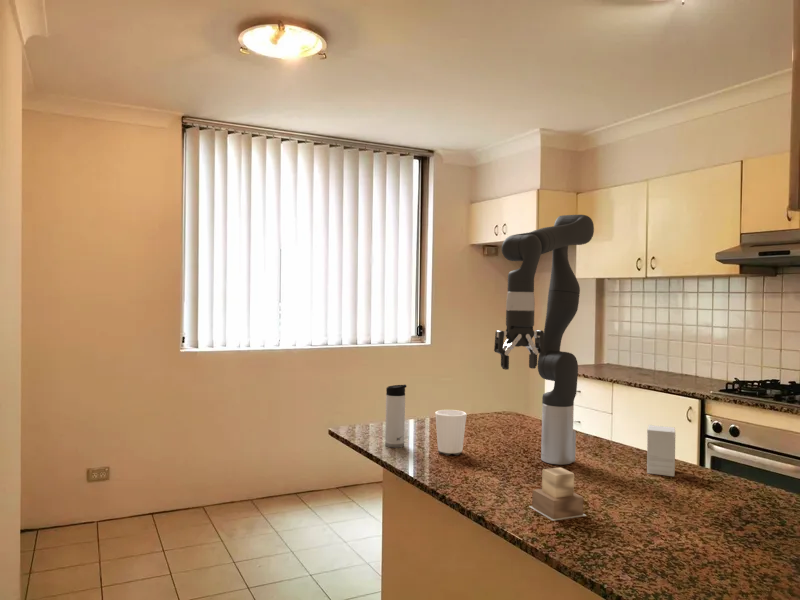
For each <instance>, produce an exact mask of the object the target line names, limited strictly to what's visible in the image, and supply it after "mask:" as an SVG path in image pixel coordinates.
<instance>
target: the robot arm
mask: <svg viewBox="0 0 800 600" xmlns="http://www.w3.org/2000/svg"><path fill="white" fill-rule="evenodd" d="M594 232H595V225H594V221H593V219H592V218H591V217H590V216H589V215H585V214H567V215H565V214H564V215H563V214H562V215H559V216H558V217H557V218H556V219H555V221H554V224H553V226H546V227H542V228H538V229H536V230H533V231H530V232H523V233H522V232H521V233H516V234H512V235H509V236H507V237H506V238H504V240H503V242H502V245H501V253H502V255H503V257H504V258H505V259H506V260H508V261H510V262H522V263H521V264H520V265H521V266H519V268H517V269H514V270H511V271H509V272H508V275H507V293H506V301H505V302H506V303H505V325H506V329H505V331H504V330H499V329H498V330H495V335H494V336H495V337H494V347H493V348H494V349H493V351H494V353H496V354H499V355H500V367H501V368H502V369H503V370H509V368H510V356H509V354H510V352H511V351H512V350H513V349H514V348H515V347H516V348H520V347H525V348H526V349H527V351H528V352H529V354H528V367H529V369H532V370H533V369H536V368H537V370H538V375H539V377H541V378H542V379H544V380H545V381H546V380H547V381H552V382H553V383H554V385H553V389H552V390H550V391H547V392H544V393H543V394H542V397H541V398H542V400H541V403H542V404H541V406H542V407H541V442H540V444H541V446H540V447H541V448H540V449H541V450H540V451H541V452H540V460H541V461H542V462H544V463H547V464H550V465H551V464H552V465H570V464H572V463H575V462H576V447H577V445H576V444H577V443H576V442H577V441H576V438H577V435H576V434H577V432H576V429H574V405H575V402H574V401H575V398H576V396H577V391H578V390H577V389H578V376H579V364H578V360H577V358H576V356H575V355H574V353H572V352H568V351H561V345H562V339H563V336H564V334H565V332H566V330H567V328H568V327H569V325H570V324H571V322H572V320H573V319H574V318H575V316H576V314H577V313H578V310H579V303H580V295H581V294H580V293H581V287H580V284H579V281H578V279H577V277H576V275H575V273H574V271H573V269H572V267H571V265H570V262H569V254H568V253H569V252H568V251H569V246H582V245H586V244H588V243H589V242H590V241H591V240H592V239H593V238H594V237H593V236H594ZM549 252H551V254H552V256H551V257H552V258H551V271H550V280H549V281H550V282H549V287H548V295H547V301H546V302H547V303H546V313H545V314H546V316H545V322H544V327H543V328H544V329H543V330H541V329H536V330H534V326H535V307H536V304H535V278H536V277H535V276H536V273H537V272H536V271H537V268H538V265H539V263H540V262H539V261H540V258H541V256H542V255H544V254H547V253H549ZM505 338H506V340H505ZM533 338H534V340H532V339H533ZM504 340H505V342H504Z"/></svg>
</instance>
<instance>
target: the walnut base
mask: <svg viewBox="0 0 800 600" xmlns="http://www.w3.org/2000/svg"><path fill="white" fill-rule="evenodd" d="M531 496H532V499H531V500H532V503H531V504H532V505H531V506H532V507H533V508H535V509H537V510H538V511H540V512H542V513H544V514H545V515H547V516H549V517H550V518H552V519H558V518H565V517H572V516H579V515H583V514H584V496H582V495H580V494H578V493H577V492H574V496H567V497H559V498H554V497H552V496H551V495H549V494H547V493H545V492H543V491H542V488H536V489H532V495H531Z"/></svg>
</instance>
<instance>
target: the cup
mask: <svg viewBox="0 0 800 600" xmlns="http://www.w3.org/2000/svg"><path fill="white" fill-rule="evenodd" d="M434 413H435V426H436V429H435V430H436V441H437V442H436V443H437V452H438V454H440V455H441V454H444V456H447V457H448V456H450V455H453V456H456V457H457V456H459V455H460V454H462V452H463V448H464V441H465V440H464V439H465V430H466V421H467V413H466V412H465V411H463V410H458V409H457V410H456V409H439V410H437V411H435V412H434Z"/></svg>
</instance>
